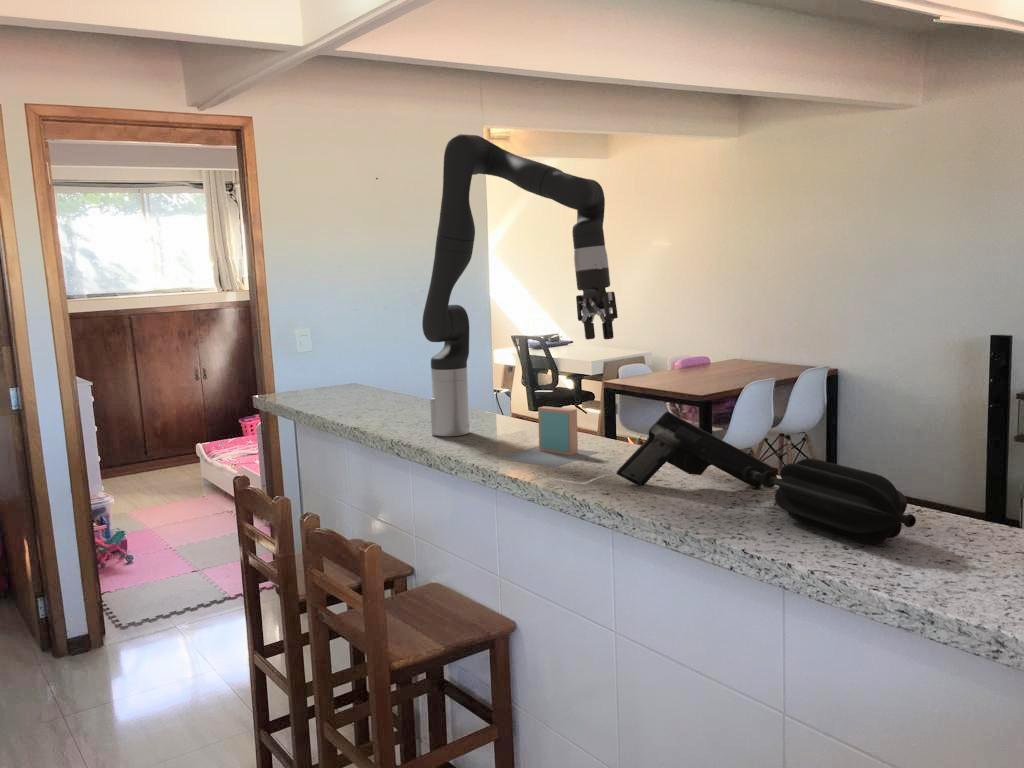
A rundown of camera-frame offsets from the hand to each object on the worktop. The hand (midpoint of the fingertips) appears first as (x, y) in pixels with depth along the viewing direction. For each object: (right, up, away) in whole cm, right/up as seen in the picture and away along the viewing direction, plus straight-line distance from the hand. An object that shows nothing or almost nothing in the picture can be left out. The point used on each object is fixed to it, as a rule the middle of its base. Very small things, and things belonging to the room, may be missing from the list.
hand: (599, 339), depth 191 cm
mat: (-12, -26, -4) cm, 29 cm away
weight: (+29, -33, -59) cm, 73 cm away
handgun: (+14, -30, -33) cm, 47 cm away
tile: (-9, -26, -1) cm, 27 cm away
